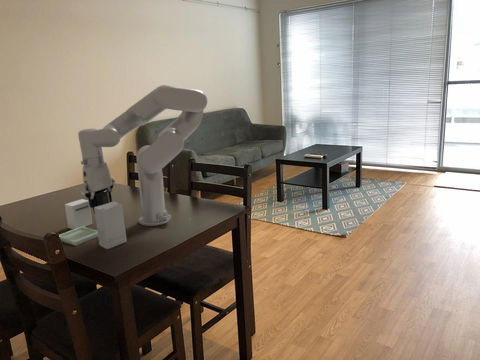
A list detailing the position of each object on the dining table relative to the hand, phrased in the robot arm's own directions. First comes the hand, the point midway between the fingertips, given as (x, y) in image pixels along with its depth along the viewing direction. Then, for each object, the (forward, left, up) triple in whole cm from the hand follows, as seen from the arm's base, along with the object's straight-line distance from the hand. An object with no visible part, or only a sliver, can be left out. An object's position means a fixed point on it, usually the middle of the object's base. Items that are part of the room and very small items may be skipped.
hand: (101, 204), depth 161 cm
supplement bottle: (0, 0, -4) cm, 4 cm away
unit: (+10, +4, -10) cm, 14 cm away
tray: (-1, +12, -10) cm, 15 cm away
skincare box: (-17, +10, -10) cm, 22 cm away
